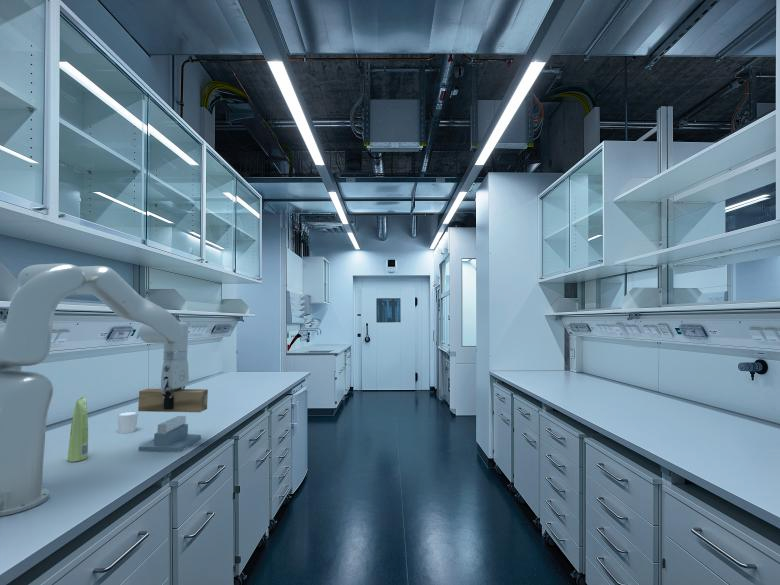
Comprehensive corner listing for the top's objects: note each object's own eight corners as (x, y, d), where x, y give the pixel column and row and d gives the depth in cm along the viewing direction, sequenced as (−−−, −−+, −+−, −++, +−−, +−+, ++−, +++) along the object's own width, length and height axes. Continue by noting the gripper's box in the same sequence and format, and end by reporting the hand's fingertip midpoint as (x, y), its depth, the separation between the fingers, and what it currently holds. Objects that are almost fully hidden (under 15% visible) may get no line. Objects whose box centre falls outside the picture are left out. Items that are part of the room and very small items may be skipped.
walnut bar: (199, 412, 134) (200, 392, 134) (138, 411, 134) (139, 391, 135) (207, 408, 139) (207, 389, 139) (147, 407, 139) (148, 388, 140)
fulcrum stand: (179, 451, 129) (180, 426, 129) (138, 451, 129) (139, 425, 130) (200, 438, 143) (201, 415, 143) (163, 438, 143) (164, 414, 144)
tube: (62, 460, 120) (66, 397, 121) (81, 455, 125) (85, 394, 126) (73, 463, 118) (77, 399, 119) (91, 458, 122) (95, 396, 124)
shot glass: (111, 433, 148) (112, 415, 148) (127, 428, 154) (128, 410, 155) (126, 434, 146) (127, 416, 147) (141, 429, 153) (142, 412, 153)
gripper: (171, 358, 129) (169, 413, 128) (198, 353, 146) (196, 402, 145) (149, 358, 129) (147, 413, 128) (178, 353, 146) (176, 401, 145)
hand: (173, 406), depth 137 cm, fingers closed on walnut bar, 4 cm apart
